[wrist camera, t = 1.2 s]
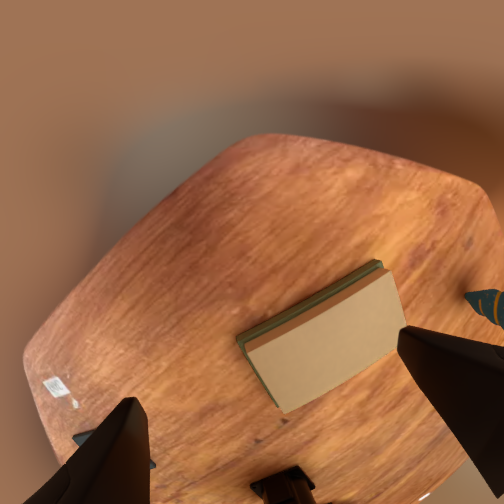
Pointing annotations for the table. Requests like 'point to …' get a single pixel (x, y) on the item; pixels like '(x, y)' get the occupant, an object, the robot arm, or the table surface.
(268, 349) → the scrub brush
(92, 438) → the robot arm
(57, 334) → the table surface
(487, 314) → the ornament
